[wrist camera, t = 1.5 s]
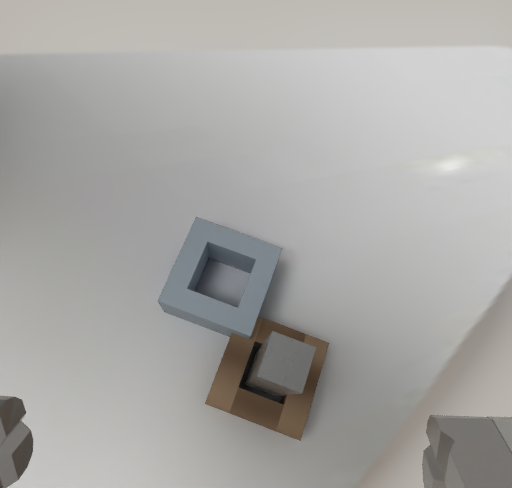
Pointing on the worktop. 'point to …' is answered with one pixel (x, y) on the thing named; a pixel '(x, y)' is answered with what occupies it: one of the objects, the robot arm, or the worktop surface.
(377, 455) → the worktop surface
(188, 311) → the block
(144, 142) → the worktop surface
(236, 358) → the socket block
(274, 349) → the tall brushed metal pillar
